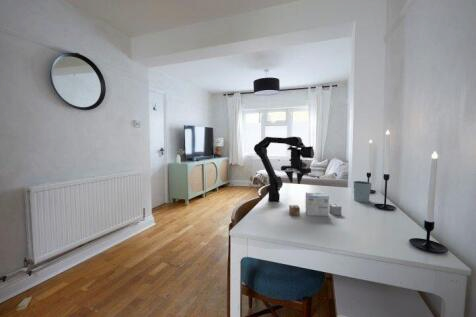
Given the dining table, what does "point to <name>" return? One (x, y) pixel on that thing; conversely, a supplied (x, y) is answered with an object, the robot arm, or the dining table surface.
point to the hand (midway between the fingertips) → (295, 183)
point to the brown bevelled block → (294, 210)
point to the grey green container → (362, 191)
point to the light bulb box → (317, 204)
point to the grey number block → (335, 209)
